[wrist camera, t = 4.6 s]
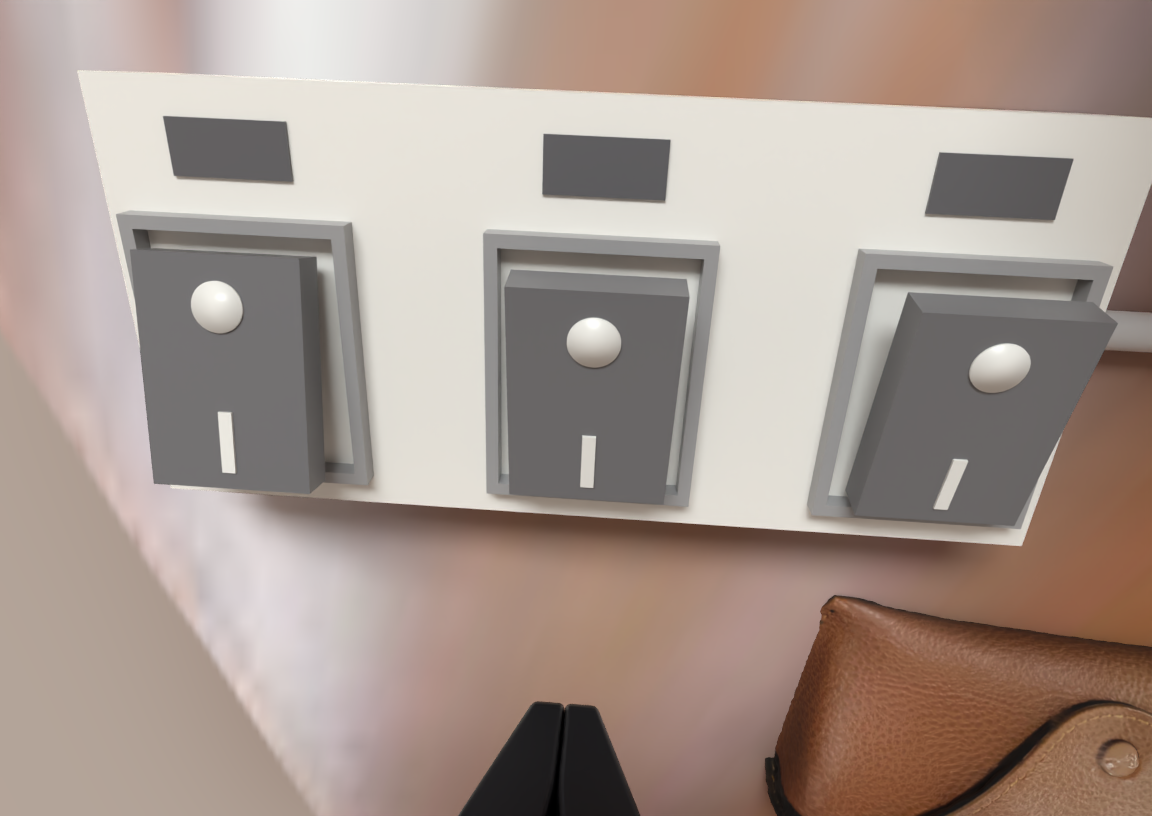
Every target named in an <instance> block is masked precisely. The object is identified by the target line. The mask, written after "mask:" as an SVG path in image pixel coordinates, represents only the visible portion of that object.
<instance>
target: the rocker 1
mask: <svg viewBox="0 0 1152 816" xmlns="http://www.w3.org/2000/svg"><path fill="white" fill-rule="evenodd" d="M130 256H131V266H132V276H133V285H134V295H135V305H136V314H137V324H138V334H139V343H140V353H141V363H142V373H143V382H144V392H145V402H146V411H147V421H148V431H149V440H150V450H151V460H152V469H153V479H154V484H167V485H182V486H196V487H211V488H226V489H241V490H255V491H270V492H285V493H300V494H311V493H312V492H313V491H314V490H315V489H316V488H317V487H319V486H320V485H321V484H322V483H323V482H324V481H325V456H324V431H323V405H322V380H321V355H320V330H319V304H318V279H317V257H311V256H292V255H274V254H255V253H237V252H219V251H200V250H182V249H164V248H149V249H130Z"/></svg>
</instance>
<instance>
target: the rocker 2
mask: <svg viewBox="0 0 1152 816" xmlns="http://www.w3.org/2000/svg"><path fill="white" fill-rule="evenodd" d="M1117 325H1118V323H1117V322H1116V321H1115V320H1114V319H1112V318H1111V317H1110V316H1109V315H1108V314H1106V313H1105V312H1104V311H1103V310H1102V309H1100V308H1099V307H1098V306H1097V305H1096V304H1094V303H1093V302H1080V301H1062V300H1044V299H1025V298H1007V297H989V296H970V295H952V294H934V293H915V292H908V294H907V297H906V300H905V303H904V306H903V309H902V313H901V316H900V319H899V322H898V325H897V328H896V332H895V335H894V338H893V341H892V344H891V347H890V350H889V354H888V357H887V360H886V363H885V366H884V369H883V372H882V376H881V379H880V382H879V385H878V388H877V391H876V394H875V398H874V401H873V404H872V407H871V410H870V413H869V417H868V420H867V423H866V426H865V429H864V432H863V435H862V439H861V442H860V445H859V448H858V451H857V454H856V457H855V461H854V464H853V467H852V470H851V473H850V476H849V480H848V483H847V486H846V489H845V491H846V493H847V496H848V499H849V501H850V504H851V507H852V509H853V512H854V515H856V516H871V517H886V518H901V519H916V520H931V521H946V522H960V523H975V524H990V525H1005V526H1015V524H1016V522H1017V520H1018V518H1019V516H1020V514H1021V512H1022V510H1023V508H1024V506H1025V504H1026V502H1027V500H1028V498H1029V496H1030V494H1031V492H1032V490H1033V488H1034V486H1035V485H1036V483H1037V481H1038V479H1039V477H1040V475H1041V473H1042V471H1043V469H1044V467H1045V465H1046V463H1047V461H1048V459H1049V457H1050V455H1051V453H1052V451H1053V449H1054V447H1055V446H1056V444H1057V442H1058V440H1059V438H1060V436H1061V434H1062V432H1063V430H1064V428H1065V426H1066V424H1067V422H1068V420H1069V418H1070V416H1071V414H1072V412H1073V410H1074V408H1075V407H1076V405H1077V403H1078V401H1079V399H1080V397H1081V395H1082V393H1083V391H1084V389H1085V387H1086V385H1087V383H1088V381H1089V379H1090V377H1091V375H1092V373H1093V371H1094V369H1095V367H1096V366H1097V364H1098V362H1099V360H1100V358H1101V356H1102V354H1103V352H1104V350H1105V348H1106V346H1107V344H1108V342H1109V340H1110V338H1111V336H1112V334H1113V332H1114V330H1115V328H1116V327H1117Z"/></svg>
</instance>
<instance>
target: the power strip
mask: <svg viewBox="0 0 1152 816" xmlns="http://www.w3.org/2000/svg"><path fill="white" fill-rule="evenodd" d="M77 72H78V76H79V81H80V85H81V90H82V94H83V99H84V103H85V108H86V112H87V116H88V121H89V125H90V130H91V134H92V139H93V143H94V148H95V152H96V156H97V161H98V165H99V170H100V174H101V179H102V183H103V188H104V192H105V197H106V201H107V205H108V210H109V214H110V219H111V223H112V228H113V232H114V237H115V241H116V245H117V250H118V254H119V259H120V263H121V268H122V272H123V277H124V281H125V285H126V290H127V294H128V299H129V303H130V308H131V312H132V317H133V321H134V326H135V330H136V334H137V339H138V343H139V334H138V324H137V314H136V305H135V295H134V285H133V276H132V266H131V256H130V249H149V248H164V249H182V250H200V251H219V252H237V253H255V254H274V255H292V256H311V257H317V279H318V304H319V330H320V355H321V380H322V405H323V431H324V456H325V481H324V482H323V483H322V484H321V485H320V486H319V487H317V488H316V489H315V490H314V491H313V492H312V493H311V494H300V493H285V492H270V491H255V490H241V489H226V488H211V487H196V486H182V485H170V486H171V488H175V489H190V490H204V491H219V492H234V493H249V494H263V495H278V496H293V497H307V498H322V499H337V500H352V501H366V502H381V503H396V504H410V505H425V506H440V507H455V508H469V509H484V510H499V511H513V512H528V513H543V514H558V515H572V516H587V517H602V518H617V519H631V520H646V521H661V522H675V523H690V524H705V525H720V526H734V527H749V528H764V529H778V530H793V531H808V532H823V533H837V534H852V535H867V536H881V537H896V538H911V539H926V540H940V541H955V542H970V543H984V544H999V545H1014V546H1022V544H1023V541H1024V538H1025V535H1026V532H1027V530H1028V527H1029V524H1030V521H1031V518H1032V516H1033V513H1034V510H1035V507H1036V505H1037V502H1038V499H1039V496H1040V493H1041V491H1042V488H1043V485H1044V482H1045V479H1046V477H1047V474H1048V471H1049V468H1050V465H1051V463H1052V460H1053V457H1054V454H1055V452H1056V449H1057V446H1058V443H1059V440H1060V438H1061V436H1060V438H1059V440H1058V442H1057V444H1056V446H1055V447H1054V449H1053V451H1052V453H1051V455H1050V457H1049V459H1048V461H1047V463H1046V465H1045V467H1044V469H1043V471H1042V473H1041V475H1040V477H1039V479H1038V481H1037V483H1036V485H1035V486H1034V488H1033V490H1032V492H1031V494H1030V496H1029V498H1028V500H1027V502H1026V504H1025V506H1024V508H1023V510H1022V512H1021V514H1020V516H1019V518H1018V520H1017V522H1016V524H1015V526H1005V525H990V524H975V523H960V522H946V521H931V520H916V519H901V518H886V517H871V516H856V515H854V512H853V509H852V507H851V504H850V501H849V499H848V496H847V493H846V491H845V489H846V486H847V483H848V480H849V476H850V473H851V470H852V467H853V464H854V461H855V457H856V454H857V451H858V448H859V445H860V442H861V439H862V435H863V432H864V429H865V426H866V423H867V420H868V417H869V413H870V410H871V407H872V404H873V401H874V398H875V394H876V391H877V388H878V385H879V382H880V379H881V376H882V372H883V369H884V366H885V363H886V360H887V357H888V354H889V350H890V347H891V344H892V341H893V338H894V335H895V332H896V328H897V325H898V322H899V319H900V316H901V313H902V309H903V306H904V303H905V300H906V297H907V294H908V292H915V293H934V294H952V295H970V296H989V297H1007V298H1025V299H1044V300H1062V301H1080V302H1093V303H1094V304H1096V305H1097V306H1098V307H1099V308H1100V309H1102V310H1103V311H1104V312H1105V313H1106V314H1108V315H1109V316H1110V317H1111V318H1112V319H1114V320H1115V321H1116V322H1117V323H1118V325H1117V327H1116V328H1115V330H1114V332H1113V334H1112V336H1111V338H1110V340H1109V342H1108V344H1107V346H1106V348H1105V350H1116V351H1133V352H1151V353H1152V313H1150V312H1132V311H1113V310H1106V309H1107V306H1108V304H1109V301H1110V298H1111V295H1112V293H1113V290H1114V287H1115V284H1116V281H1117V279H1118V276H1119V273H1120V270H1121V267H1122V265H1123V262H1124V259H1125V256H1126V253H1127V251H1128V248H1129V245H1130V242H1131V240H1132V237H1133V234H1134V231H1135V228H1136V226H1137V223H1138V220H1139V217H1140V214H1141V212H1142V209H1143V206H1144V203H1145V200H1146V198H1147V195H1148V192H1149V189H1150V187H1151V184H1152V118H1148V117H1132V116H1116V115H1101V114H1085V113H1062V112H1040V111H1017V110H995V109H972V108H950V107H927V106H905V105H882V104H860V103H837V102H815V101H792V100H770V99H747V98H725V97H702V96H680V95H657V94H635V93H612V92H590V91H567V90H545V89H522V88H500V87H477V86H454V85H432V84H409V83H387V82H364V81H342V80H319V79H297V78H274V77H252V76H229V75H207V74H184V73H161V72H123V71H84V70H77ZM511 269H512V270H531V271H549V272H567V273H586V274H604V275H622V276H641V277H659V278H677V279H687V284H688V290H689V296H690V299H689V307H688V315H687V322H686V330H685V338H684V346H683V354H682V362H681V370H680V378H679V386H678V394H677V402H676V410H675V418H674V426H673V434H672V442H671V450H670V458H669V466H668V474H667V482H666V490H665V498H664V505H662V504H647V503H632V502H617V501H602V500H587V499H572V498H557V497H542V496H527V495H513V494H509V460H508V419H507V378H506V337H505V297H504V286H505V283H506V281H507V278H508V276H509V273H510V270H511ZM139 348H140V343H139ZM1061 435H1062V434H1061Z"/></svg>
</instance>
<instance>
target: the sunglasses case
mask: <svg viewBox="0 0 1152 816" xmlns="http://www.w3.org/2000/svg"><path fill="white" fill-rule="evenodd" d="M820 612H821V614H822V618H821V620H820V627H819V628H820V630H819V632H818V634H817V637H816V639H815V641H814V644H813V646H812V649H811V652H810V654H809V656H808V660H807V661H806V665H805V667H804V671H803V672H802V674H801V678H800V680H799V684H798V687H797V688H796V691H795V695H794V698H793V700H792V701H791V705H790V708H789V711H788V713H787V715H786V719H785V722H784V723H783V728H782V732H781V733H780V735H779V738H778V741H777V745H776V751H775V757H774V758H770V757H768V758H766V759H765V768H766V769H765V770H766V782H767V785H768V794H769V797H770V800H771V803H772V805H773V807H774V810H775V813H776V814H777V816H1152V647H1147V646H1138V645H1127V644H1122V643H1115V642H1106V641H1096V640H1092V639H1083V638H1078V637H1067V636H1059V635H1053V634H1048V633H1040V632H1034V631H1029V630H1021V629H1013V628H1007V627H997V626H992V625H987V624H979V623H973V622H965V621H956V620H950V619H944V618H940V617H935V616H930V615H926V614H921V613H916V612H909V611H906V610H900V609H894V608H891V607H885V606H882V605H879V604H877V603H875V602H873V601H868V600H865V599H860V598H854V597H846V596H836V595H834V596H833V597H832V598H830V599H829V600H828V601H827V603H826V604H825V605H824V606H823V607H822V609H821V611H820Z"/></svg>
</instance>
